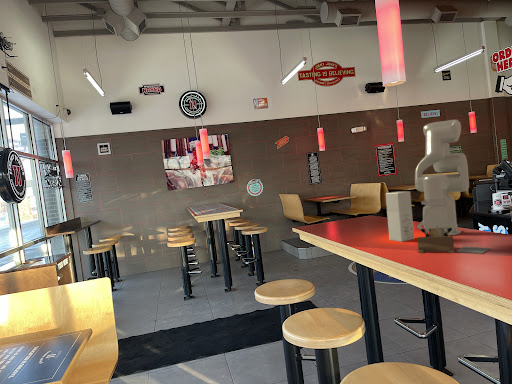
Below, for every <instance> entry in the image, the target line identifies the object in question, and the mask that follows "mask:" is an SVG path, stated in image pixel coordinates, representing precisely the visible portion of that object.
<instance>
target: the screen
mask: <svg viewBox="0 0 512 384" xmlns="http://www.w3.org/2000/svg"><path fill="white" fill-rule="evenodd" d="M454 243H455V242H454V235H448V236H438V237H426V236H417V247H418V249H417V250H418V254H423V253H449V254H452V253H453V254H455V244H454Z"/></svg>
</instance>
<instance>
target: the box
mask: <svg viewBox="0 0 512 384" xmlns="http://www.w3.org/2000/svg"><path fill="white" fill-rule="evenodd" d="M428 234H429V237H438V236H444V230H443V229H439V228H438V225H436V229H429V231H428Z"/></svg>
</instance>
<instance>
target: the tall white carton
mask: <svg viewBox="0 0 512 384" xmlns="http://www.w3.org/2000/svg"><path fill="white" fill-rule="evenodd" d="M385 202H386V214H387V215H386V216H387V226H388V237H389V241H395V242H401V243H402V242H407V241H412V239H413V240H415V232H414V221H413V208H412V207H413V206H412V195H411V191H391V192H386V193H385Z"/></svg>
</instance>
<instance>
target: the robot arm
mask: <svg viewBox="0 0 512 384" xmlns="http://www.w3.org/2000/svg"><path fill="white" fill-rule="evenodd" d="M422 129H423V130H422V131H423V135H424V137H425V155H424V157H423V158H422V159H421V160H420V161H419V163H418V164H417V166H416V167H415V171H414V186H415V189H416V191H418V192H423V196H424V198H423V199H424V200H422V201H421V202H420V203H421V205H424V206H423V207H422V221H420V222H419V223H418V225H416V227H417V229H418V230H420V231H421V232H422V234H424V235H425V237H429V229H436V225H438V228H439V229H443V230H444V236H455V235H461V233H462V231H461V230H460V229H459V230H458V224H457V212H456V201H455V199H454V197H453V196H452V195H451V194H450V193H461V192H467V191H469V188H470V181H469V180H470V179H469V178H470V177H469V167H468V160H467V156H466V155H465V154H464V153H463V152H455V153H451V152H450V151H451V149H450V148H451V147H450V143H456V142H458V141H459V139H460V136H461V132H462V124H461V122H460V121H459V120H458V119H449V120H443V121H435V122H431V123H427V124H425V125H424V126H423V128H422ZM431 166H432V167H433V169H434V172H436V173H450V174H429V175H423V174H424V173H423V172H425V170H426V169H428V168H429V167H431ZM451 172H453V173H451ZM454 172H457V173H454ZM422 226H423V227H422Z"/></svg>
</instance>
